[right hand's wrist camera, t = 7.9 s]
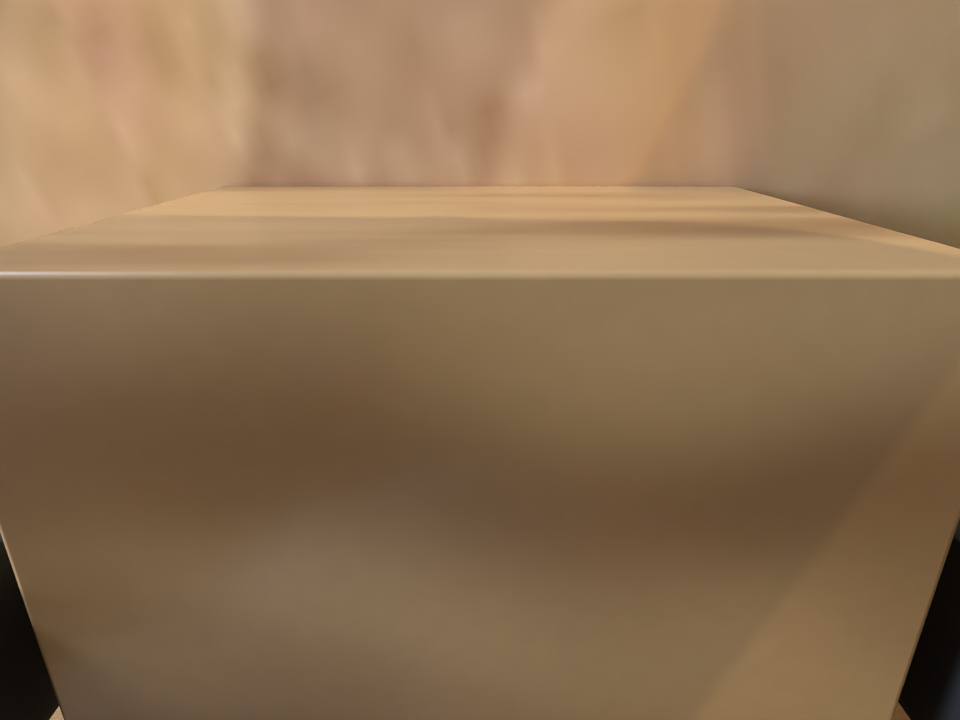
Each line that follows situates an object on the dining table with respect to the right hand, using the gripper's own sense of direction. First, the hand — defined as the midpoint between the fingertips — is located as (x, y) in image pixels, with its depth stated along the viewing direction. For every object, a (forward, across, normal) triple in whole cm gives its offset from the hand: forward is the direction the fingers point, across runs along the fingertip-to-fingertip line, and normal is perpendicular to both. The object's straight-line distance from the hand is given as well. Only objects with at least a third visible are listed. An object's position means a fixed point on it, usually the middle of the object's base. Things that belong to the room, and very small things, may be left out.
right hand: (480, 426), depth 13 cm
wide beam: (+1, 0, -31) cm, 31 cm away
